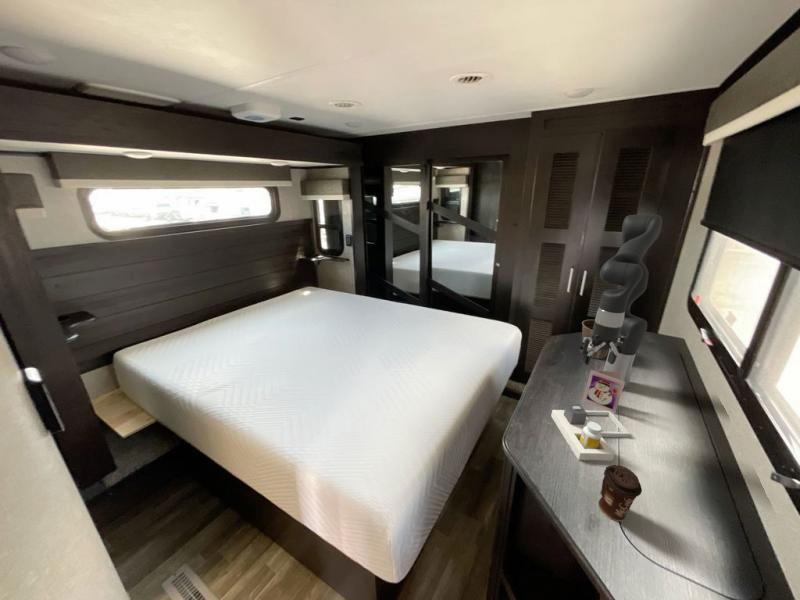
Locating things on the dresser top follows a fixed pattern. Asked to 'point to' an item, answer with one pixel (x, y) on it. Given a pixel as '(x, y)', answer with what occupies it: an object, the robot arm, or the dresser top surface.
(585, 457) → the white holder base
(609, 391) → the greeting card
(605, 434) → the tray
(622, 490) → the coffee cup
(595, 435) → the supplement bottle
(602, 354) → the plant pot
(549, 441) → the dresser top surface
